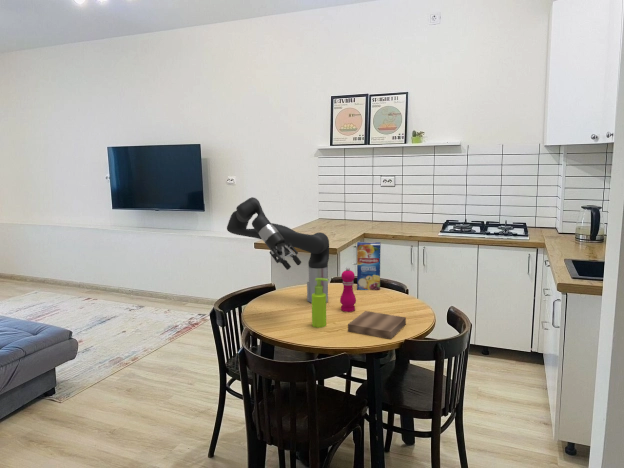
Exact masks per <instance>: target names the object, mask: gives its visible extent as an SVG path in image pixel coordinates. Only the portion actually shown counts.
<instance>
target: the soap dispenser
mask: <svg viewBox="0 0 624 468" xmlns="http://www.w3.org/2000/svg"><path fill="white" fill-rule="evenodd" d="M315 281H317V285H316V286H315V293H314V294H312V303H311V325H312V327H314V328H318V329H319V328H325V327H326V326H327V302H326V294H325V293H323V286H322V285H321V281H328V282H329V278H328V279H326V278H316V279H315Z"/></svg>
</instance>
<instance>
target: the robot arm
mask: <svg viewBox="0 0 624 468" xmlns="http://www.w3.org/2000/svg"><path fill="white" fill-rule="evenodd" d="M255 214H257V216H255V218H254V219H253V220H252V222H251V225H252V227H253V228H248V225H249V222H250V220H251V219H252V218H253V217H254V215H255ZM226 230H227V231H228V233H231V234H233V235H235V236H240V237H241V236H242V237H248V238H254V239H258V240H262V241H263V243H264V244H265V245H266V246H267V248H268V249H269V250H270V251H269V255H270V256H271V257H272V259H273V260H274V261H275V262H276V264H278V263H280V264H281V265H282V266H283V267H284V268H285V269H286V270H290V269H291V268H292V266H291V264H290V263H289V262H288V261H287V259H286V257H288V258H291V259H292V261H293V262H294V263H295V264H296V265H297V266H300V265H301V264H302V261H301V259H300V258H299V257H298V254H299V252H298V251H297V249H300V250H303V251H305V252H308V253H310V256H309V260H308V281H307V282H306V302H308V303H311V304H312V294H314V293H315V286H316V285H317V281H315V279H316V278H326V279H329V276H328V275H329V272H328V271H329V267H328V266H329V260H330V240H329V237H328V236H327V234H326V233H324V232H316V233H313V234H308V233H307V234H306V233H302V232H298V231H295V230H293V229H292V228H290V227H288V226H286V225H284V224H283V225H282V224H278V223H272V222H271V221H270V220H269V219H268V218H267V216H266V214H265V213H264V209H263V208H262V205H261V203H260V201H259V199H257V198H256V197H250V198H247V199H246V200H245V201H243V202H241V203H240V204H239V205H237V206H236V210H235V211H233V212H232V214H231V215H230V217H229V220H228V223H227V226H226ZM321 285H322V286H323V293H325V294H326V303H329V280H328V281H321Z"/></svg>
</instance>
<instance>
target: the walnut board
mask: <svg viewBox="0 0 624 468" xmlns="http://www.w3.org/2000/svg"><path fill="white" fill-rule="evenodd" d="M406 322H407V317H405V316H399V315H394V314H393V315H392V314H386V313H380V312H374V311H368V310H364V312H362V313H360V314H359V315H358V316H356V317H355V318H354V319H352V321H350V322H349V323H348V324H347V332H350V333H356V334H360V335H361V334H362V335H366V336H372V337H377V338H382V339H387V340H392V339H393V338H394V337H395V336H396V335H397V334H398V333H399V332H400V330H401V329H402V328H403V327H405V326H406Z"/></svg>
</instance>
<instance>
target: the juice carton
mask: <svg viewBox="0 0 624 468" xmlns="http://www.w3.org/2000/svg"><path fill="white" fill-rule="evenodd" d="M356 244H357V245H356V250H357V255H356V256H357V257H356V261H357V262H356V265H357V267H356V274H357V275H356V276H357V277H356V278H357V279H356V282H357V284H356V290H357V291H381V246H382V245H381V242H377V241H375V242H374V241H371V242H370V241H364V242H363V241H358V242H357V243H356Z"/></svg>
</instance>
